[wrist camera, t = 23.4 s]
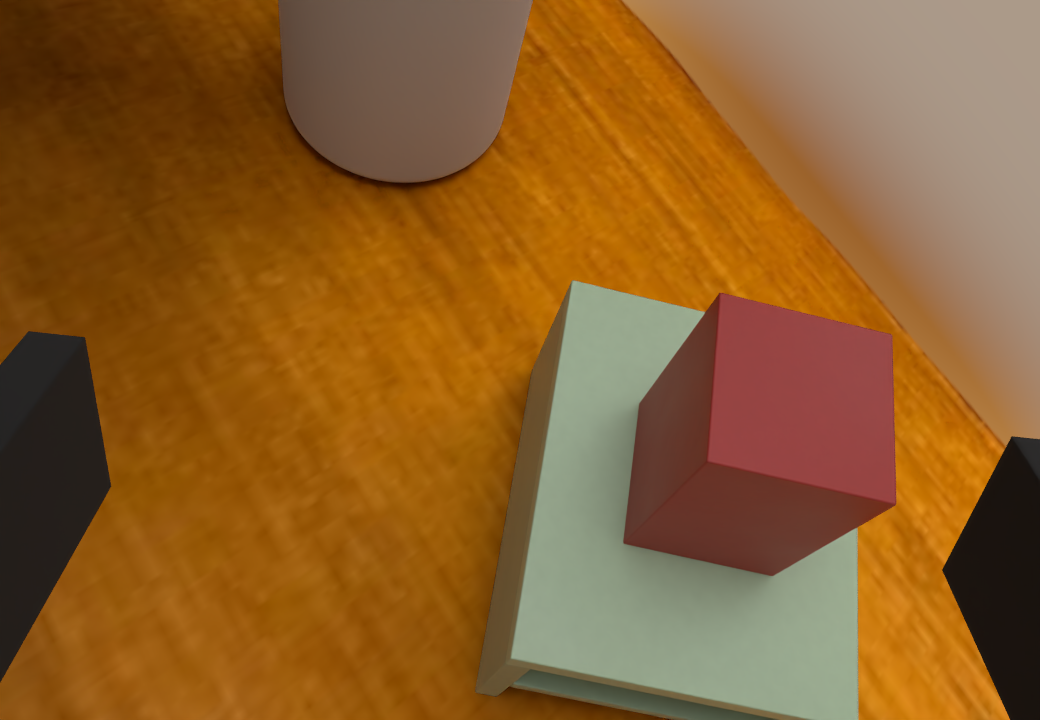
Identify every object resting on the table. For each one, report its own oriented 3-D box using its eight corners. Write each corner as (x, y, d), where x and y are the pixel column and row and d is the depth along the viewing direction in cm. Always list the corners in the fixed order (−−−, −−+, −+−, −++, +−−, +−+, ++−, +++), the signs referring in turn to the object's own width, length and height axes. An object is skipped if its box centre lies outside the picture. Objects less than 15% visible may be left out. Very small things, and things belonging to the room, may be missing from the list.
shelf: (532, 369, 49) (572, 279, 41) (772, 425, 50) (857, 348, 42) (474, 692, 41) (510, 658, 33) (759, 749, 42) (859, 729, 34)
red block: (638, 402, 39) (719, 291, 31) (778, 435, 39) (893, 333, 31) (622, 544, 36) (706, 461, 28) (772, 576, 36) (897, 505, 29)
